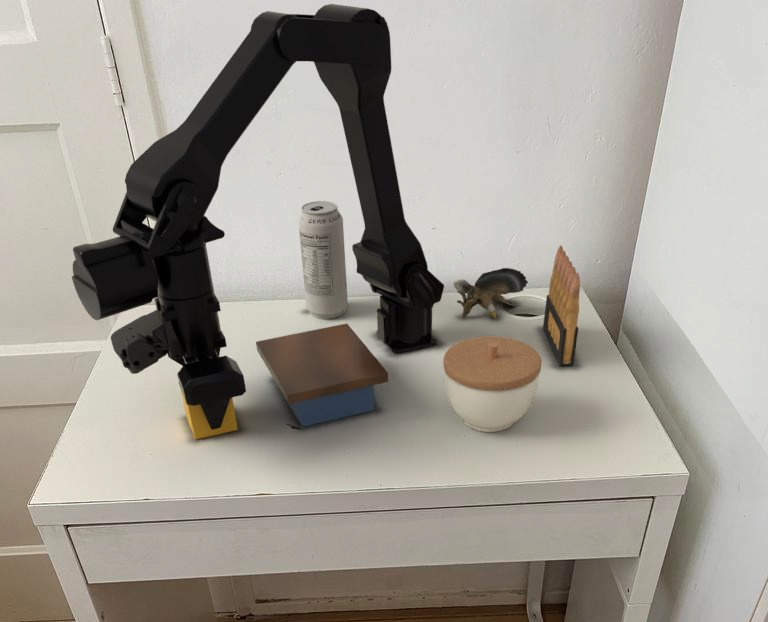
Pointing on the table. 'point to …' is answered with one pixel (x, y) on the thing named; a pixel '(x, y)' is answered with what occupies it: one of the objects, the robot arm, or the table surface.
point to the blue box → (334, 406)
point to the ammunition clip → (562, 310)
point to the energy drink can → (323, 259)
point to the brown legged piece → (490, 289)
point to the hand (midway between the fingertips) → (210, 416)
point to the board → (320, 363)
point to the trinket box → (491, 381)
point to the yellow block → (201, 424)
